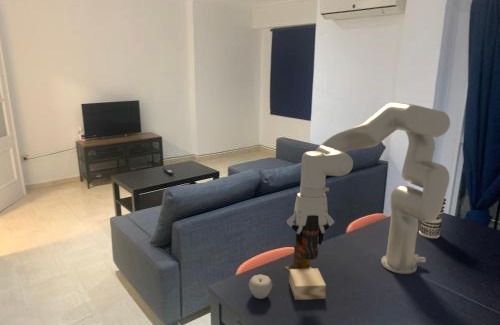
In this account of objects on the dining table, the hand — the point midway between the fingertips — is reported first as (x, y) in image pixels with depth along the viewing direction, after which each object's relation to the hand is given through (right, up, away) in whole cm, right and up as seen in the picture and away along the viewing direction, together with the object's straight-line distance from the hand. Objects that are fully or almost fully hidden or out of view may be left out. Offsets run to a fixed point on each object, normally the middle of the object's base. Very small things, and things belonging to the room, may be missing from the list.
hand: (309, 242), depth 116 cm
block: (0, -17, +5) cm, 18 cm away
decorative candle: (+63, -7, +46) cm, 78 cm away
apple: (-16, -18, +2) cm, 24 cm away
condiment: (-1, -14, +17) cm, 22 cm away
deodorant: (0, -5, +1) cm, 5 cm away
